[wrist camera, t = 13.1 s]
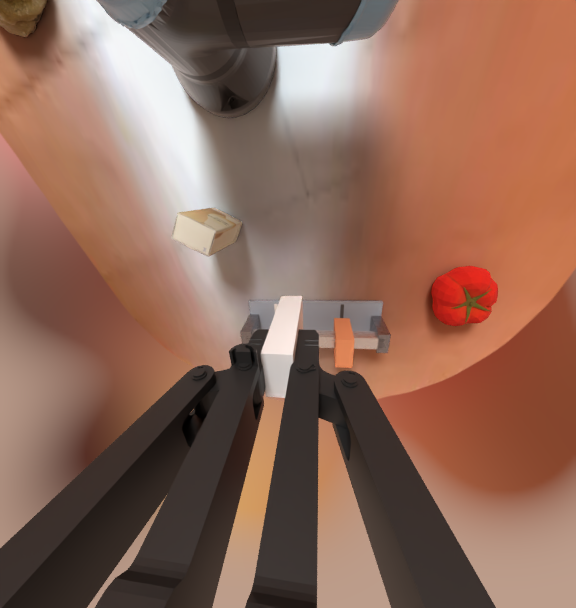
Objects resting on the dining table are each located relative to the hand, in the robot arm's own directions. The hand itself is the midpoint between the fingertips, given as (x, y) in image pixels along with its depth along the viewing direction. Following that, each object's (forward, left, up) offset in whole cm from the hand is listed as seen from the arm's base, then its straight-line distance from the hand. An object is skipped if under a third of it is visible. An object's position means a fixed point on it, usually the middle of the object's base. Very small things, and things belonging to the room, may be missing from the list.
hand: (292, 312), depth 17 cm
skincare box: (-15, -7, -31) cm, 35 cm away
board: (+11, -14, -30) cm, 35 cm away
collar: (+16, -11, -26) cm, 33 cm away
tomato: (+29, +7, -31) cm, 43 cm away
